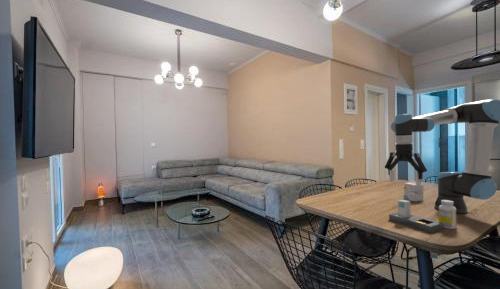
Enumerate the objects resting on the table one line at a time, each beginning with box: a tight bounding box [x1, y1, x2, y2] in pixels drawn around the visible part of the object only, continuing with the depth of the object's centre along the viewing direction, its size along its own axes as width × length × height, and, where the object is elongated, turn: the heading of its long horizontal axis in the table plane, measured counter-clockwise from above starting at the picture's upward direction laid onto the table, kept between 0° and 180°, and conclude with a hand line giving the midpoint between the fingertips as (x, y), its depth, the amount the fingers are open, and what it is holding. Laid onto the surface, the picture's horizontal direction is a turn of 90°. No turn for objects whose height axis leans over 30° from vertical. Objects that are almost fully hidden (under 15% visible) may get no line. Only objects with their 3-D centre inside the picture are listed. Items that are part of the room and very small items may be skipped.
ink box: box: [403, 179, 425, 202], centre depth 164 cm, size 9×8×13 cm
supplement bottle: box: [438, 200, 457, 230], centre depth 114 cm, size 7×7×13 cm
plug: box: [397, 199, 411, 218], centre depth 122 cm, size 5×4×11 cm
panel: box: [388, 211, 444, 234], centre depth 118 cm, size 10×20×3 cm, turn 25°
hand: (404, 183), depth 122 cm, fingers open, 13 cm apart
